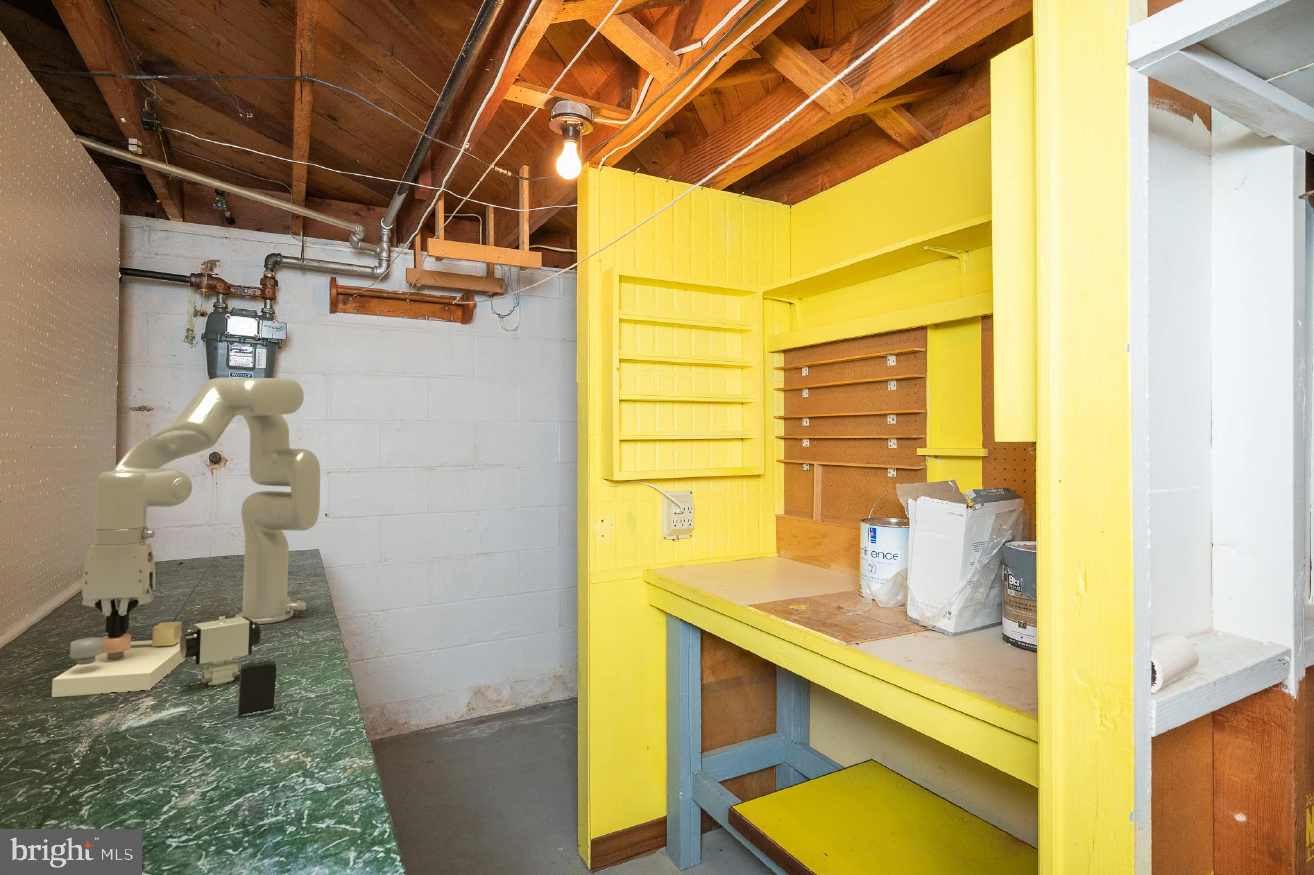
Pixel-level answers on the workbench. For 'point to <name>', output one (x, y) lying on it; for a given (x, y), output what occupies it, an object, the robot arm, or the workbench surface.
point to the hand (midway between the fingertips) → (117, 635)
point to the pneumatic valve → (219, 646)
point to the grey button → (86, 649)
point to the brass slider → (166, 633)
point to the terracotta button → (116, 646)
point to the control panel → (120, 671)
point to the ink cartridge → (257, 687)
